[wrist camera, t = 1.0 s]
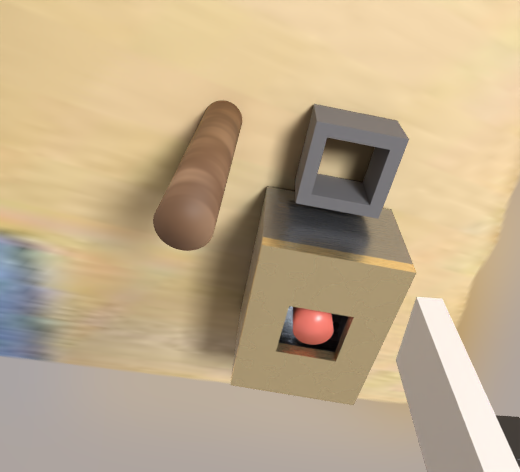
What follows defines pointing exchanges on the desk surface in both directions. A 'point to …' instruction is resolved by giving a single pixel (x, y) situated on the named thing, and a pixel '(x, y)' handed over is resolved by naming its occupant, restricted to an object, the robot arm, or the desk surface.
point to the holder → (343, 190)
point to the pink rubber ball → (312, 326)
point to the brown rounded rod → (200, 180)
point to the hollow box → (318, 298)
